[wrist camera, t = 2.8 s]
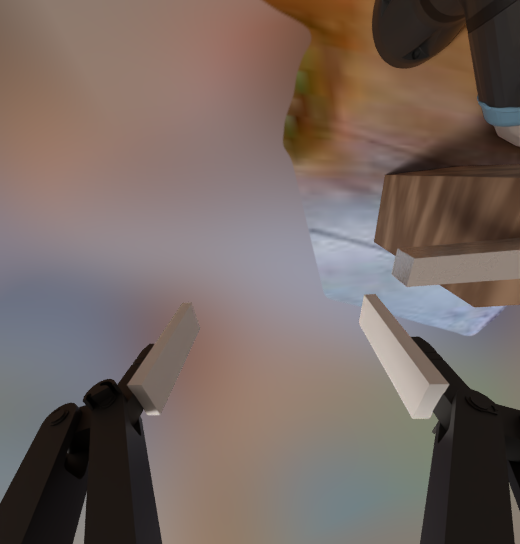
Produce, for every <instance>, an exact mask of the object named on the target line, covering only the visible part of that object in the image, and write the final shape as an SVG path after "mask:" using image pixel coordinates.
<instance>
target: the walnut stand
mask: <svg viewBox="0 0 520 544" xmlns="http://www.w3.org/2000/svg"><path fill="white" fill-rule="evenodd" d="M513 238H520V164H509V165H479V166H457V167H449V168H440V169H432V170H424V171H415V172H407V173H398V174H390V175H385V179H384V185H383V191H382V197H381V203H380V209H379V215H378V221H377V227H376V233H375V239H374V242H375V243H377V244H378V245H380V246H381V247H383V248H384V249H386V250H387V251H389V252H390V253H392V254H393V255H395V256H396V253H397V249H398V248H410V247H421V246H433V245H444V244H456V243H467V242H478V241H490V240H501V239H513ZM439 285H441V286H442V287H444V288H445V289H447V290H449V291H450V292H452V293H453V294H455V295H456V296H458V297H459V298H461V299H462V300H464V301H465V302H467V303H468V304H470V305H471V306H473V307H489V306H505V305H520V279H509V280H495V281H481V282H467V283H453V284H439Z"/></svg>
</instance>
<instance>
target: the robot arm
mask: <svg viewBox="0 0 520 544" xmlns="http://www.w3.org/2000/svg"><path fill="white" fill-rule="evenodd" d="M465 23H466V25H467V30H468V38H469V44H470V50H471V56H472V62H473V68H474V74H475V80H476V86H477V92H478V96H477V101H478V104H479V105H480V106H481V107H482V111H483V115H484V118H485V120H486V121H487V122H488V123H489V124H491V125H494V126H499V127H511V126H519V125H520V0H375V5H374V10H373V19H372V30H373V38H374V42H375V46H376V48H377V51H378V53H379V54H380V56H381V57H382V59H383V60H384V61H385V62H387V63H388V64H389V65H391V66H393V67H396V68H412V67H415V66H418V65H420V64H422V63H424V62H426V61H427V60H429V59H430V58H432V57H433V56H434V55H436V54H437V53H439V52H440V51H441V50H442V49H443V48H445V47H446V46H447V45H448V44H449V43H450V42H451V41H452V40H453V39H454V37H455V36H456V35H457V34H458V32H459V31H460V30H461V29H462V27H463V26H464V25H465ZM359 324H360V326H361V328H362V330H363V331H364V333H365V335H366V337H367V339H368V340H369V342H370V344H371V346H372V347H373V349H374V351H375V353H376V355H377V356H378V358H379V360H380V362H381V364H382V365H383V367H384V369H385V371H386V372H387V374H388V376H389V378H390V380H391V381H392V383H393V385H394V387H395V389H396V390H397V392H398V394H399V396H400V397H401V399H402V401H403V403H404V404H405V406H406V408H407V410H408V412H409V413H410V415H411V417H412V418H413V419H429V418H430V417H431V415H432V413H433V412H434V414H435V415H436V417H437V418H438V420H439V421H438V423H437V424H436V426H435V428H434V429H433V431H432V432H433V433H434V434H435V433H436V436H435V442H434V449H433V456H432V463H431V470H430V477H429V485H428V491H427V498H426V505H425V512H424V519H423V526H422V533H421V540H420V544H515V543H514V532H513V521H512V511H511V501H510V490H509V483H510V486H511V489H512V491H513V494H514V497H515V499H516V502H517V505H518V508H519V510H520V410H516V409H513V408H509V407H505V406H502V405H498V404H495V403H494V402H493V401H492V400H490V399H489V398H488V397H487V396H485V395H483V394H481V393H479V392H478V391H474V390H472V389H470V388H469V387H468V386H467V385H466V384H465V383H464V382H463V381H462V379H461V378H460V377H459V376H458V375H457V374H456V373H455V372H454V371H453V369H452V368H451V367H450V366H449V365H448V364H447V363H446V362H445V361H444V360H443V358H442V357H441V356H440V355H439V354H438V353H437V352H436V351H435V349H434V348H433V347H432V346H431V345H430V344H429V343H427V342H426V341H425V340H423V339H422V338H420V337H410V336H409V335H408V334H407V332H406V331H405V330H404V329H403V328H402V326H401V325H400V324H399V323H398V321H397V320H396V319H395V318H394V316H393V315H392V314H391V313H390V311H389V310H388V309H387V308H386V307H385V305H384V304H383V303H382V302H381V301H380V299H379V298H378V297H377V296H376V294H369V295H364V299H363V304H362V310H361V315H360V320H359ZM199 330H200V327H199V324H198V321H197V318H196V315H195V312H194V308H193V305H192V303H182V304H181V306H180V307H179V309H178V310H177V312H176V313H175V315H174V316H173V318H172V319H171V321H170V322H169V324H168V325H167V327H166V328H165V330H164V331H163V333H162V334H161V336H160V337H159V339H158V340H157V341H156V343H155V344H149V345H148V346H147V347H146V348H144V349H143V350H142V352H141V353H140V354H139V356H138V357H137V359H136V360H135V361H134V363H133V365H131V367H130V368H129V370H128V371H127V372H126V374H125V375H124V376H123V378H122V379H121V381H120V382H119V383H118V385H117V384H116V382H115V381H114V380H112V379H107V380H103V381H101V382H99V383H97V384H96V385H94V386H93V387H92V388H91V389H90V390H89V391H88V392H87V393H86V395H85V396H84V399H83V402H84V403H85V404H86V405H85V406H82V407H78V406H77V405H76V404H75V403H68V404H65V405H62V406H61V407H59V408H57V409H56V410H54V411H53V412H52V413H51V414H50V415H49V416H48V417H47V418H46V419H45V421H44V422H43V423H42V425H41V427H40V429H39V431H38V433H37V434H36V436H35V438H34V440H33V442H32V444H31V446H30V448H29V450H28V452H27V454H26V455H25V457H24V459H23V461H22V463H21V465H20V467H19V469H18V471H17V473H16V474H15V476H14V478H13V480H12V482H11V484H10V486H9V488H8V490H7V492H6V494H5V496H4V498H3V499H2V501H1V503H0V544H73V540H74V537H75V533H76V529H77V525H78V522H79V518H80V514H81V510H82V506H83V503H84V499H85V495H86V492H87V500H86V519H85V536H84V544H162V540H161V533H160V527H159V522H158V516H157V509H156V503H155V497H154V491H153V485H152V479H151V473H150V467H149V461H148V455H147V448H146V442H145V437H144V431H143V424H142V419H141V417H140V415H141V413H142V411H143V409H144V410H145V412H146V413H147V415H161V413H162V411H163V408H164V406H165V404H166V402H167V400H168V397H169V395H170V393H171V391H172V389H173V386H174V384H175V382H176V380H177V378H178V376H179V373H180V371H181V369H182V367H183V365H184V362H185V360H186V358H187V356H188V354H189V351H190V349H191V347H192V345H193V343H194V341H195V338H196V336H197V334H198V332H199Z"/></svg>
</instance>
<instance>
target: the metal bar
mask: <svg viewBox="0 0 520 544" xmlns="http://www.w3.org/2000/svg"><path fill="white" fill-rule="evenodd" d="M392 275H393V276H394V277H395V278H397V279H398V280H399V281H400V282H401V283H403V284H404V285H405V286H406V287H411V286H425V285H439V284H453V283H467V282H481V281H495V280H509V279H520V238H513V239H501V240H490V241H478V242H467V243H456V244H444V245H433V246H421V247H410V248H398V249H397V253H396V257H395V262H394V266H393V271H392Z"/></svg>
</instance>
